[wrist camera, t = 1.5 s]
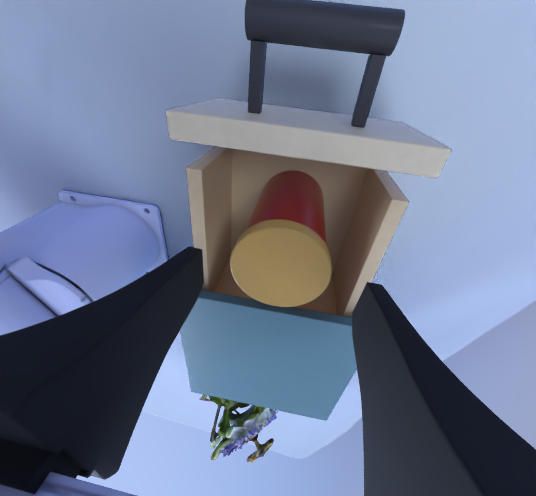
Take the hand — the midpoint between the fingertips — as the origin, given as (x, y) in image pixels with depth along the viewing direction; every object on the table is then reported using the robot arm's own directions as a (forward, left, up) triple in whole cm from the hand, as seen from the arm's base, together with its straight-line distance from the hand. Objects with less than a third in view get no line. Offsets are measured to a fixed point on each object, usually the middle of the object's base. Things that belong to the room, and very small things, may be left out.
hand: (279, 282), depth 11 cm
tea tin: (0, 0, -9) cm, 9 cm away
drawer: (0, +2, -10) cm, 10 cm away
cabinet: (0, -11, -11) cm, 15 cm away
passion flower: (-3, -31, -11) cm, 33 cm away
